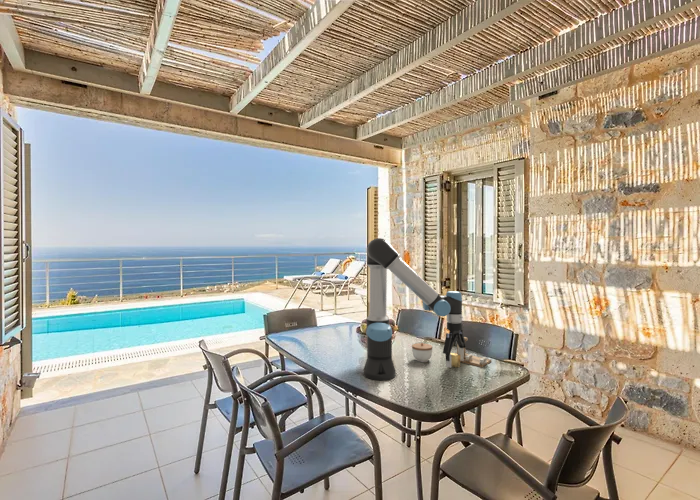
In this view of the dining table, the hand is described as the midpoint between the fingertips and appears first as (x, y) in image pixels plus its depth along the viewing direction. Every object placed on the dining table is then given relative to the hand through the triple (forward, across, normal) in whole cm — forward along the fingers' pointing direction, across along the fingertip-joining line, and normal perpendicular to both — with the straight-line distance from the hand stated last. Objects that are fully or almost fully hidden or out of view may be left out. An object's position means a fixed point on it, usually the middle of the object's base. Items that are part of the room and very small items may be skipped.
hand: (454, 363), depth 180 cm
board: (+1, +14, -2) cm, 14 cm away
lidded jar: (+1, -3, +17) cm, 18 cm away
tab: (+1, 0, 0) cm, 1 cm away
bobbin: (+1, +14, +3) cm, 14 cm away
